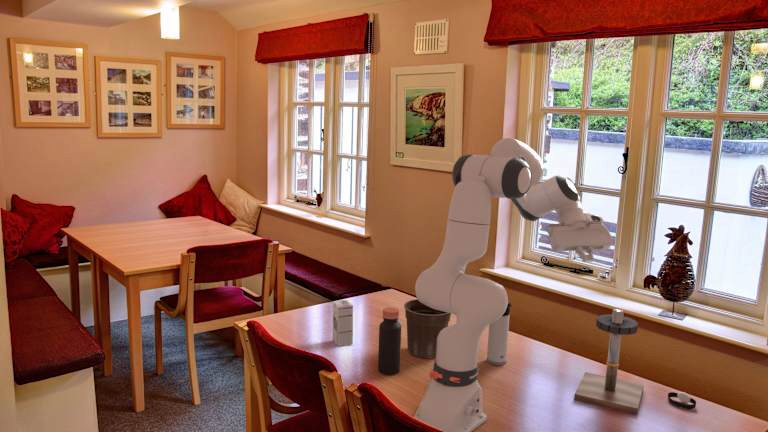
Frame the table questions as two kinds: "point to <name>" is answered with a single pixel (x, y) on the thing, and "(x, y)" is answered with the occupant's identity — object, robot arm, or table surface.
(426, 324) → the plant pot
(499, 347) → the travel mug
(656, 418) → the table surface
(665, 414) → the table surface
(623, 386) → the stand
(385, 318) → the bottle
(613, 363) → the metallic rounded rod
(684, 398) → the watch
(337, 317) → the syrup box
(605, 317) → the grey gear
